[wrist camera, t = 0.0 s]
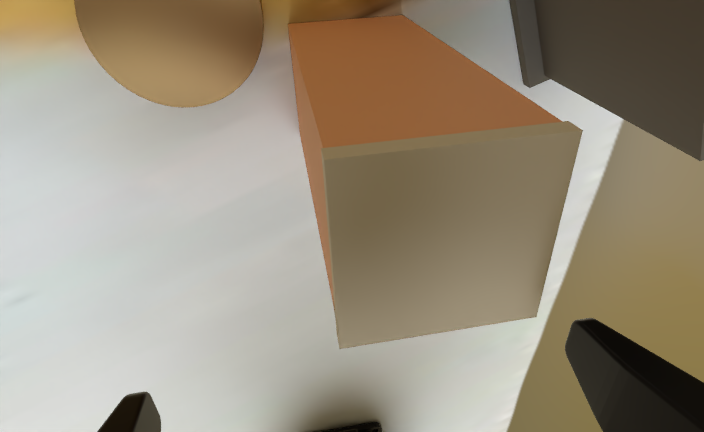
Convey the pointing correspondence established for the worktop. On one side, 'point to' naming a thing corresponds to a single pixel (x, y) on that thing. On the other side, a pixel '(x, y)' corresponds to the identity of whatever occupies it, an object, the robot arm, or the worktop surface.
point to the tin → (424, 180)
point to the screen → (622, 59)
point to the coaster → (174, 46)
